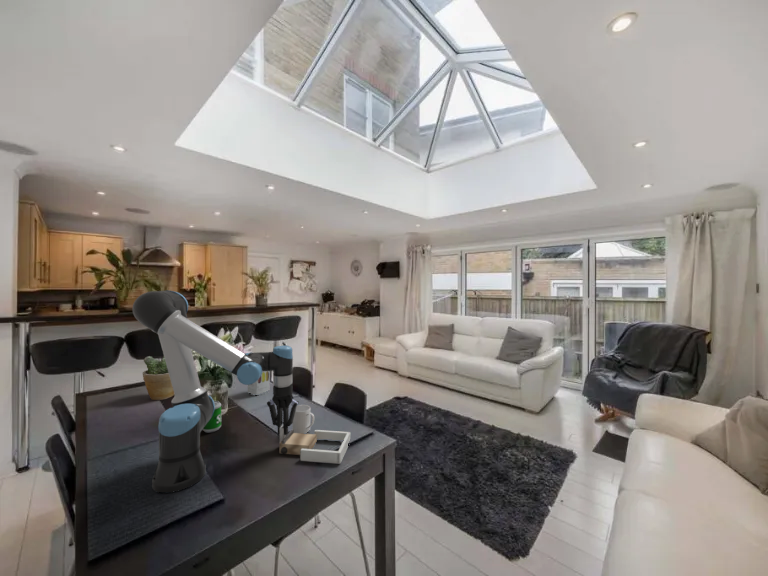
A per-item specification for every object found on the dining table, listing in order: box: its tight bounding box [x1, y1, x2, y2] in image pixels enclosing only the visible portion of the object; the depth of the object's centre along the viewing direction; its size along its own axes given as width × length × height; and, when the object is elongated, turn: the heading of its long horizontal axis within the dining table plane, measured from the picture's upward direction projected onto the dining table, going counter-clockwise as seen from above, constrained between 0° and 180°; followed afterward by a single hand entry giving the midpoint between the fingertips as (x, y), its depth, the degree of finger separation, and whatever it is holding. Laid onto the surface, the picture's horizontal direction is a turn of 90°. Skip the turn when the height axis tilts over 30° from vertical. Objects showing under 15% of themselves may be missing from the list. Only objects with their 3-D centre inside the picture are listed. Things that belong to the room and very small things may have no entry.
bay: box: [300, 429, 352, 465], centre depth 123 cm, size 16×15×4 cm
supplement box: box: [247, 371, 271, 395], centre depth 188 cm, size 10×9×17 cm
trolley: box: [278, 429, 317, 456], centre depth 125 cm, size 12×10×5 cm
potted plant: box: [142, 355, 175, 401], centre depth 180 cm, size 18×19×25 cm
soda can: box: [202, 400, 222, 434], centre depth 140 cm, size 8×8×12 cm
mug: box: [291, 404, 316, 434], centre depth 138 cm, size 12×8×10 cm, turn 53°
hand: (282, 442), depth 126 cm, fingers closed
